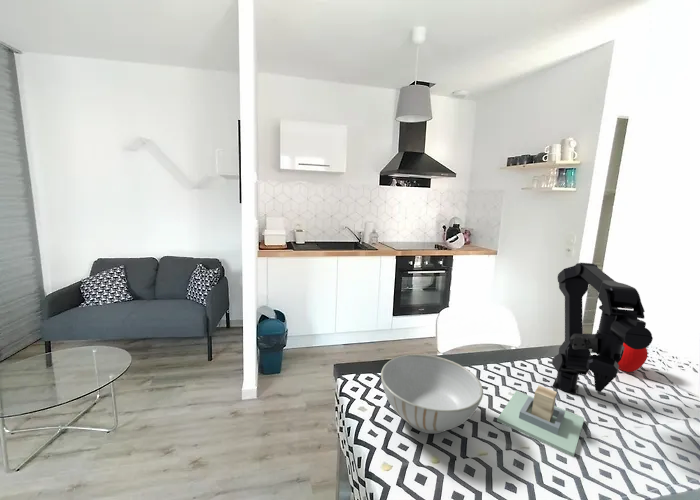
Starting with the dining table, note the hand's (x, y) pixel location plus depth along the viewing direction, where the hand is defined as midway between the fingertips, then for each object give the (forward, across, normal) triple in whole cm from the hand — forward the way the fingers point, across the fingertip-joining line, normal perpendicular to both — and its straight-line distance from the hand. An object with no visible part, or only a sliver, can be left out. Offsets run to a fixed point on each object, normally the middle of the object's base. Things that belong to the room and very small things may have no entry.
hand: (600, 384), depth 92 cm
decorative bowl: (+12, +33, -34) cm, 49 cm away
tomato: (+12, -45, +4) cm, 47 cm away
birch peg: (+11, +10, -10) cm, 18 cm away
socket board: (+12, +10, -10) cm, 19 cm away
